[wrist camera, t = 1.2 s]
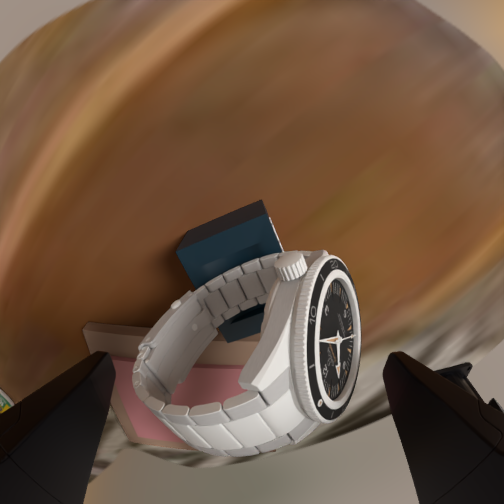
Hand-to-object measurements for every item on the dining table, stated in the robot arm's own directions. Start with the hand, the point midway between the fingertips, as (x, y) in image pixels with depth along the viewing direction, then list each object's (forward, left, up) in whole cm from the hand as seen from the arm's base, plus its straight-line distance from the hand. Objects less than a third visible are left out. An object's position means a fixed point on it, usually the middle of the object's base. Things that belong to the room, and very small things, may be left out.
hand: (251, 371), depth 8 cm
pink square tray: (+4, +12, -9) cm, 15 cm away
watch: (0, 0, -9) cm, 9 cm away
